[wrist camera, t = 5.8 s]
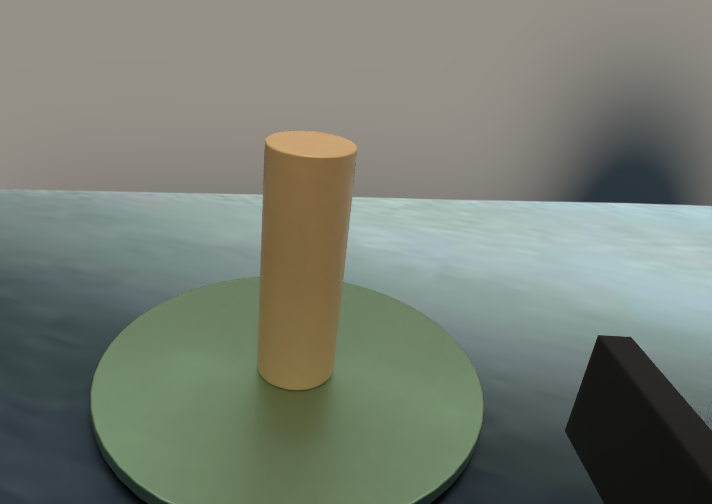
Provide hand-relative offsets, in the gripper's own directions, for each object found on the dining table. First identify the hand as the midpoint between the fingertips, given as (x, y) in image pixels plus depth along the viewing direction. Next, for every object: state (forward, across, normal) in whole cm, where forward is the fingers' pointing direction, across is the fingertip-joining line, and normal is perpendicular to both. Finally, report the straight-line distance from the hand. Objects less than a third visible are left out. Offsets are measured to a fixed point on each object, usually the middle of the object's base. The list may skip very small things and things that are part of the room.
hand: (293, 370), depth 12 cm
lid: (+8, 0, -7) cm, 11 cm away
